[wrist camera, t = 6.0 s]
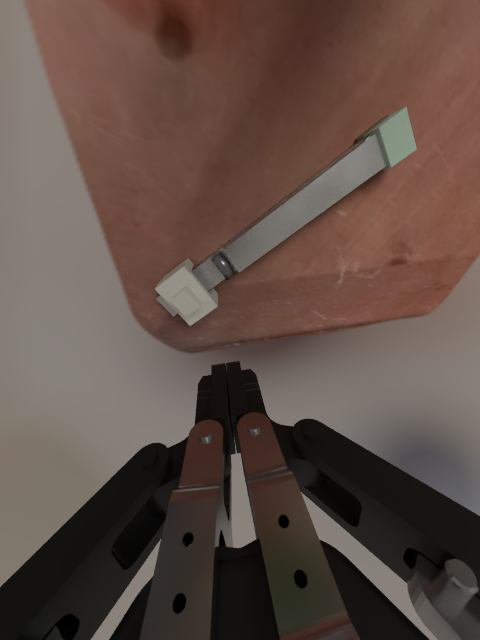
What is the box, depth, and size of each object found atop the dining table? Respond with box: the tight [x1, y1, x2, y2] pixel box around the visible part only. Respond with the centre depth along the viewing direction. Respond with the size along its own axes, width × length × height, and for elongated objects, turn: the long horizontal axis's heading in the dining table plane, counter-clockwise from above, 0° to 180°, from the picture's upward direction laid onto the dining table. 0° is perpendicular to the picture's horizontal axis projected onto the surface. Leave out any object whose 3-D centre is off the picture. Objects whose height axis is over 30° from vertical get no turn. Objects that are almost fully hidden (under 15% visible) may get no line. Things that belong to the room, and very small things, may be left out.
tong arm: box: [223, 107, 417, 273], centre depth 23 cm, size 20×4×2 cm, turn 125°
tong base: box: [156, 113, 393, 317], centre depth 25 cm, size 31×4×3 cm, turn 125°
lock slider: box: [155, 258, 218, 326], centre depth 26 cm, size 4×6×6 cm
